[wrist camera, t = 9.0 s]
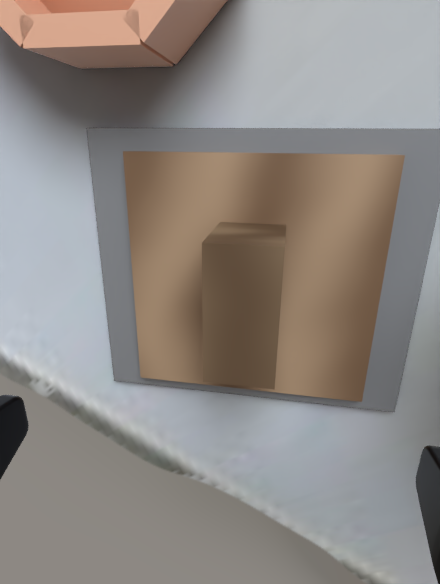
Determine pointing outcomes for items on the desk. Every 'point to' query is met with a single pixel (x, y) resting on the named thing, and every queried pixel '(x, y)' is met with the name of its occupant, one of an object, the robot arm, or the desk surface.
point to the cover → (259, 266)
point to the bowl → (108, 29)
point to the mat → (410, 142)
